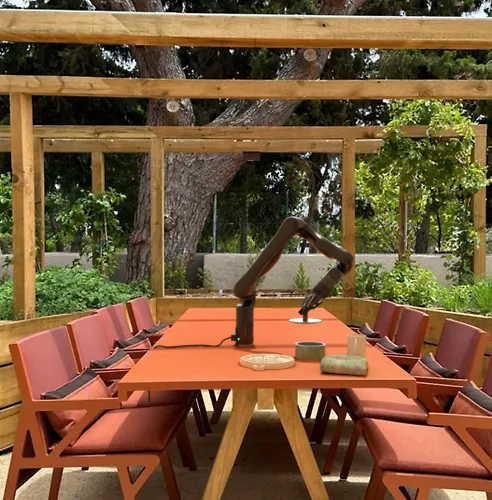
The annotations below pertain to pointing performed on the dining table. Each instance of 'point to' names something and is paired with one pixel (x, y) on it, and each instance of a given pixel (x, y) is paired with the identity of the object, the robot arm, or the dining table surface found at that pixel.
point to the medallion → (266, 361)
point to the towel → (344, 364)
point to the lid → (305, 319)
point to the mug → (356, 345)
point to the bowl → (310, 350)
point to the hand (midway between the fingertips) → (301, 314)
